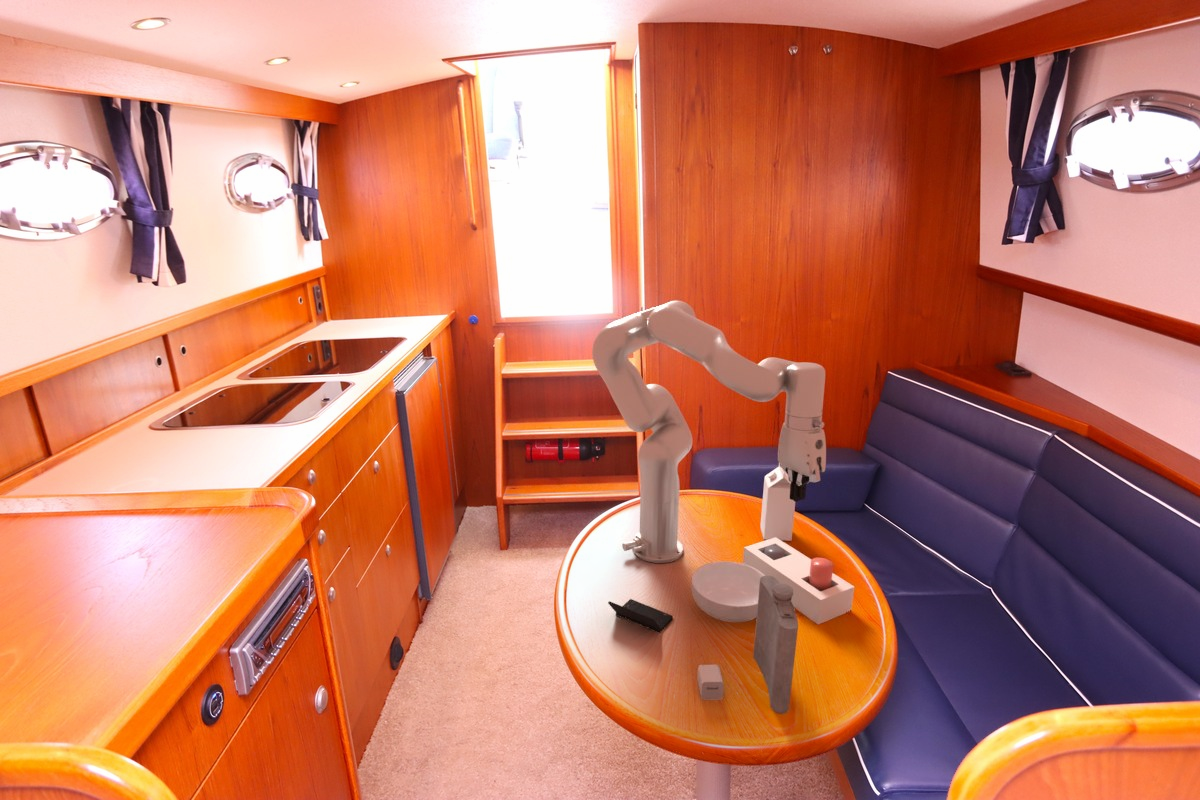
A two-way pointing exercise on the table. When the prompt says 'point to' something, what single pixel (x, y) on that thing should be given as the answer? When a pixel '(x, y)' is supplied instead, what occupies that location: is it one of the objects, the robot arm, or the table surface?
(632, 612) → the handheld gaming console
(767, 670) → the hip flask
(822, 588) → the red plunger
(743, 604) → the cereal bowl
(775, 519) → the milk carton
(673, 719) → the table surface
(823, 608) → the box
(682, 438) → the robot arm
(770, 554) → the grey rounded cylinder
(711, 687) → the usb wall charger
